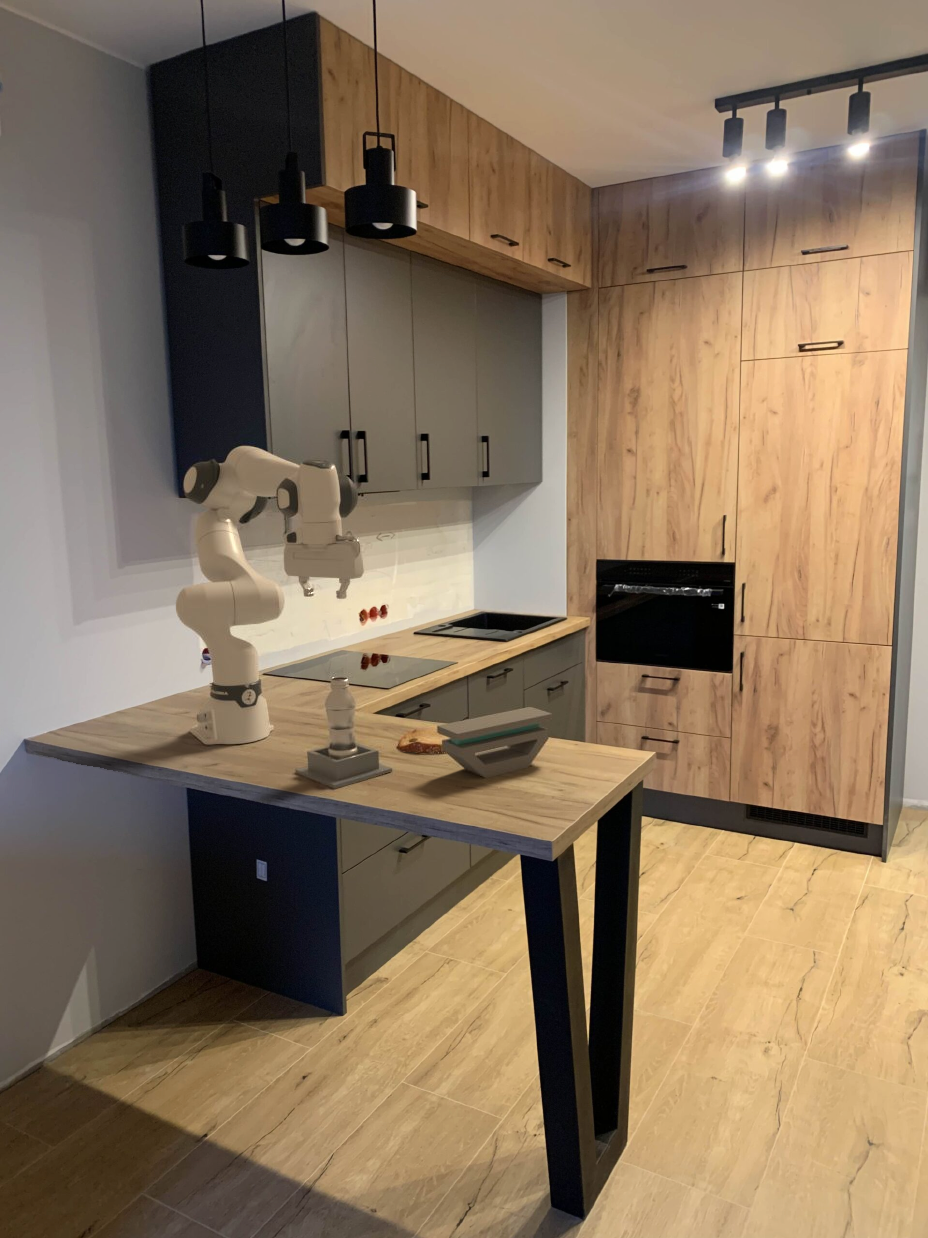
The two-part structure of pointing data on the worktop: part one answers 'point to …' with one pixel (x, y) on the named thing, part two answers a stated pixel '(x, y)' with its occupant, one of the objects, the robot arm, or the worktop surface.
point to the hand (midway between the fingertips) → (325, 597)
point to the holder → (342, 767)
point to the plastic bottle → (341, 720)
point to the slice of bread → (422, 741)
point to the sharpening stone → (496, 741)
